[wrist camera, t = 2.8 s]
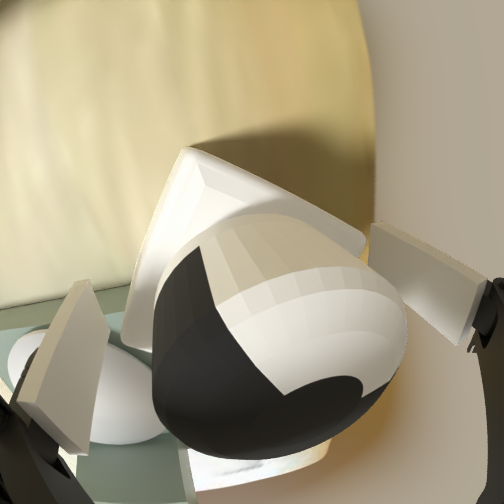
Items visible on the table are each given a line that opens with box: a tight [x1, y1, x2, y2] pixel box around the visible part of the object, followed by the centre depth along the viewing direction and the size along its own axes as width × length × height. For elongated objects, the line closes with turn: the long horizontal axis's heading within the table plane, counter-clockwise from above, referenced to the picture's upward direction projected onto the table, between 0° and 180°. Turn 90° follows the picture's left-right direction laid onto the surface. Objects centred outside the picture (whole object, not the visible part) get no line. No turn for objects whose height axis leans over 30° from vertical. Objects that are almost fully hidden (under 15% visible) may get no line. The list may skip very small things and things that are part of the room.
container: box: [120, 146, 407, 460], centre depth 11 cm, size 8×8×13 cm
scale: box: [0, 285, 198, 504], centre depth 15 cm, size 18×17×10 cm
